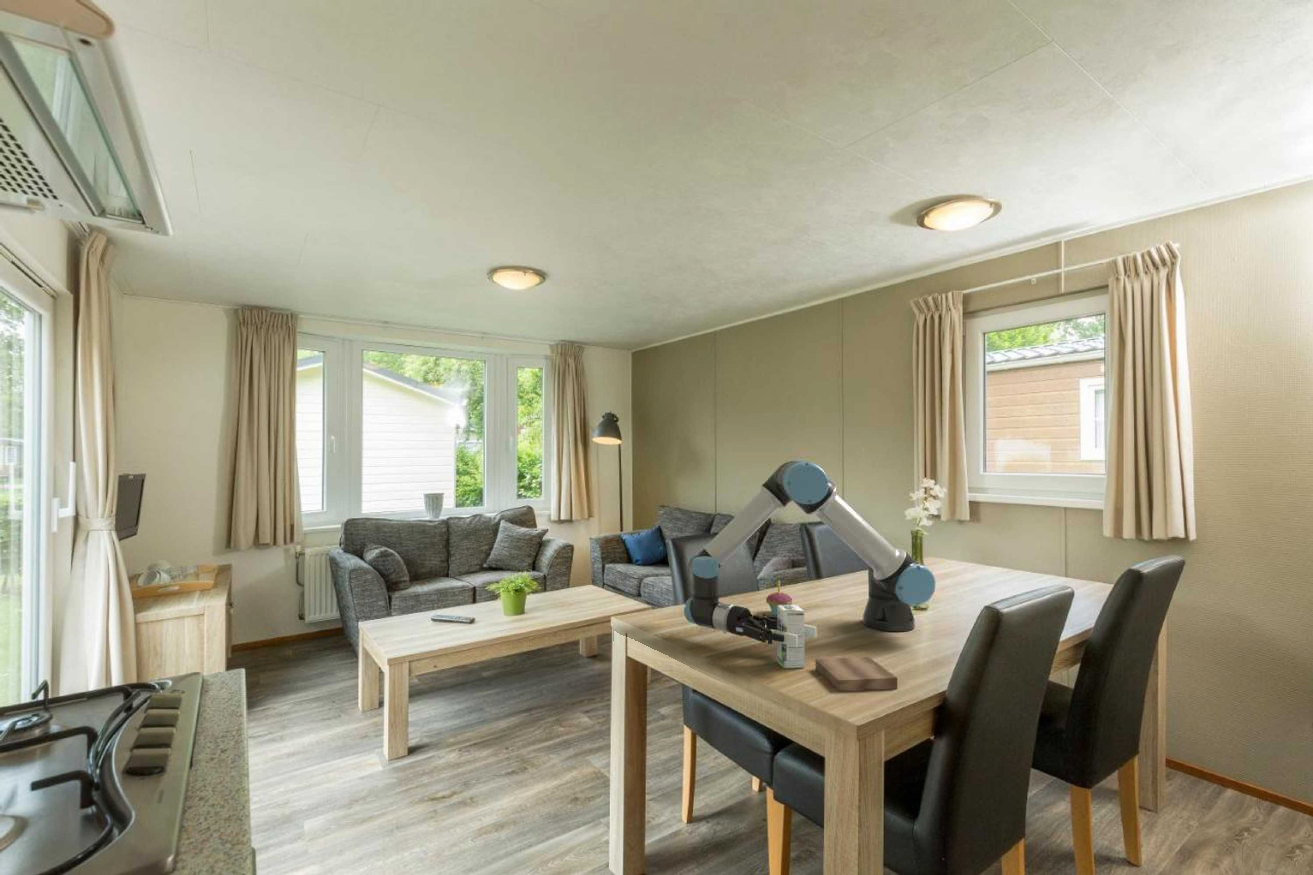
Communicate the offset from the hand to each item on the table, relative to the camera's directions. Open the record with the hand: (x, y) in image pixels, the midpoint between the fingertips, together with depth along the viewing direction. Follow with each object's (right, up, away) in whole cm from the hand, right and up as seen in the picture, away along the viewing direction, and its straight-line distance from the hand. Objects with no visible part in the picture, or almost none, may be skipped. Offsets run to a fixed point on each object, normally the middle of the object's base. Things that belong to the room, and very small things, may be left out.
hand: (806, 636), depth 151 cm
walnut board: (+10, -8, -7) cm, 14 cm away
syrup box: (-3, -8, +3) cm, 9 cm away
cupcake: (+3, -9, +50) cm, 51 cm away
